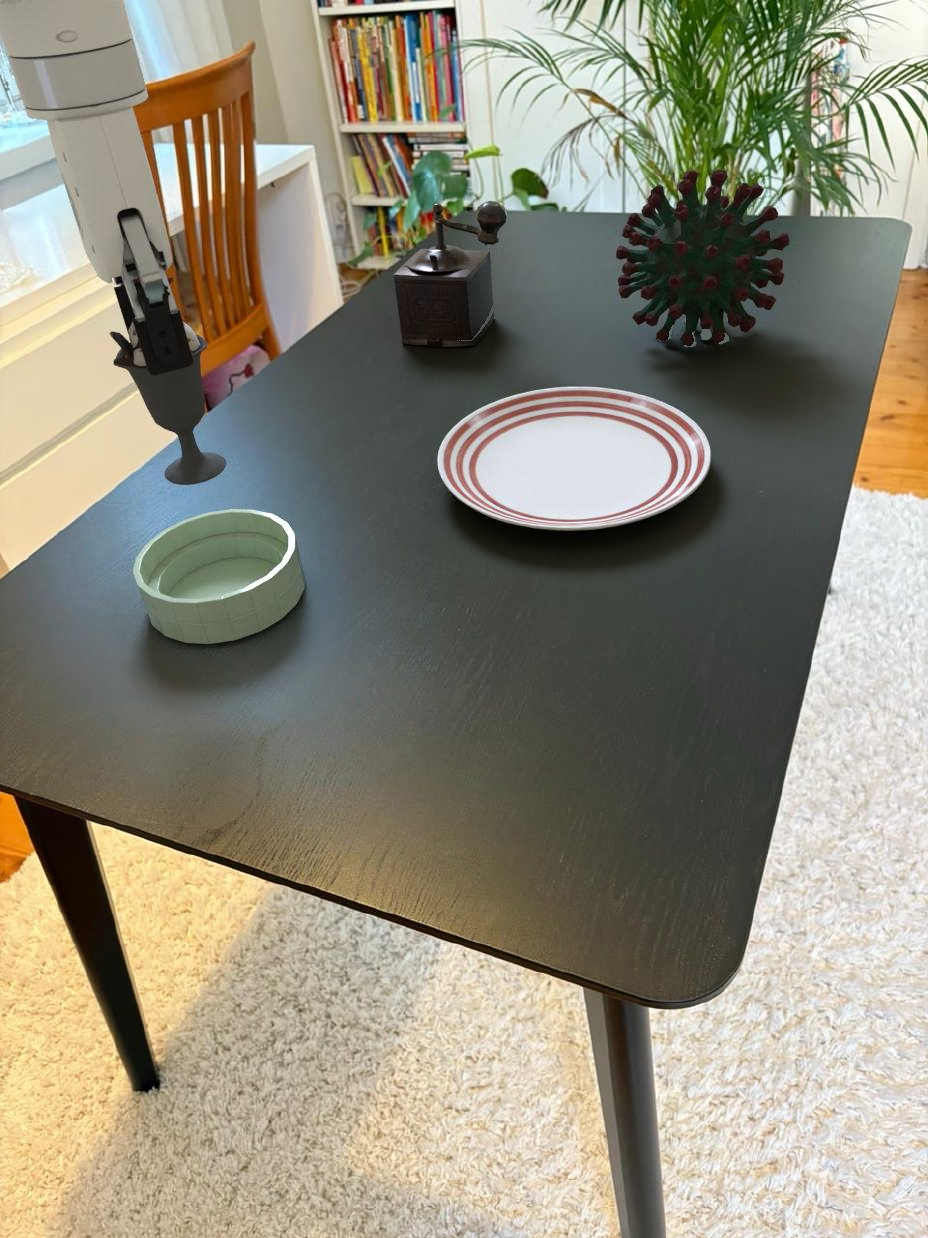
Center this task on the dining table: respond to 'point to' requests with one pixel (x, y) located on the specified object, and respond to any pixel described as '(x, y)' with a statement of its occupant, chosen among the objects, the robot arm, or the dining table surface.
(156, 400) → the sundae
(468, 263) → the coffee grinder
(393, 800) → the dining table surface
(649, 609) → the dining table surface
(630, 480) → the dinner plate
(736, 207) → the virus model
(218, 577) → the bowl
